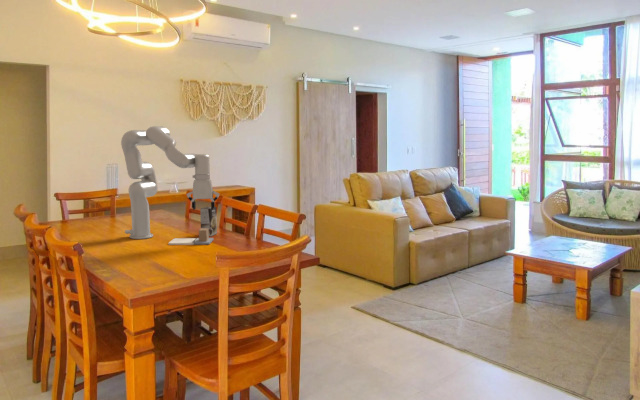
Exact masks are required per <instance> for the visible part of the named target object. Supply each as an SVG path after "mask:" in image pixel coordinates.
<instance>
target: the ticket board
mask: <svg viewBox="0 0 640 400" xmlns="http://www.w3.org/2000/svg"><path fill="white" fill-rule="evenodd" d="M198 238H199V237H181V238H180V237H179V238H178V237H175V238H173V239H172V240H170V241H169V242H168V246H173V245H175V246H176V245H177V246H179V245H180V246H183V245H184V246H188V245H189V246H193V245H195V244H194V242H195V241H196V240H197V239H198Z"/></svg>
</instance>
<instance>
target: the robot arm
mask: <svg viewBox="0 0 640 400" xmlns="http://www.w3.org/2000/svg"><path fill="white" fill-rule="evenodd" d="M120 145H121V149H122V152H123V154H124V155H123V156H124V160H125V166H126V170H127V174H128V177H129V179H132V180H138V181H134V182H133V183H130V185H129V187H128V195H129V200H130V211H131V228H132V229H124V233H125V234H126V235H129V234H130V235H129V238H130V239H134V240H144V239H150V238H153V237H154V234H153V233H151V223H150V219H151V218H150V217H151V216H150V204H149V201H148V199H147V198H150V197H154V196H155V195H156V194H157V192H158V182H157V178H156V172H155V169H154V166H153V165H152V164H151V162H148V161H143V160H142V155H141V152H140V150H139V149H138V147H137V146H152V145H155V146H156V147H157V148H159V149H160V150H162V151H163V152H164V154H165V156H166V158H167V159H168V160H169V161H170V162H171V163H172V164H174V165H175V166H176V167H178V168H181V169H191V168H194V174H192V179H194V180H193V184H192V190H191V191H190V192H188V193H186V196H187V198H188V200H189V201H190V202H191V208H192V210H196V209H197V208H196V207H197V206H196V200H210V201H211V202H210V204H211V205H210V207H211V209H212V210H213V209H214V208H215V207H216V206H215V205H216V204H215V203H216V201H217V200H218V198H219V196H220V193H219V192H217V191H215V190H214V189H213V182H212V180H211V177H210V175H211V174H210V155H208V154H207V153H206V154H205V153H203V154H202V153H200V154H198V153H197V154H196V153H183V152H182V151H180V150H179V149H177V148H176V145H177V142H176V139H174V138H173V137H171V132H170V130H169V129H168V128H167V127H166V126H158V125H157V126H156V125H155V126H154V125H153V126H150V127H148V128H147V129H146V130H144V129H143V130H141V129H133V130H129V131H126V132H125V133H124V134H123V135H122V137H121V141H120ZM139 180H140V181H139ZM191 195H192V196H191ZM214 195H215V197H213V196H214Z"/></svg>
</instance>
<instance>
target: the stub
mask: <svg viewBox="0 0 640 400" xmlns="http://www.w3.org/2000/svg"><path fill="white" fill-rule="evenodd" d="M197 238H198V239H197V240H196V241H195V242H194V245H211V243H212V242H213V241H214V237H209V229H208V228H201V227H200V228H199V229H198V237H197Z"/></svg>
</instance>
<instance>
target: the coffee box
mask: <svg viewBox="0 0 640 400" xmlns="http://www.w3.org/2000/svg"><path fill="white" fill-rule="evenodd" d="M199 211H200V229H201V228H208V229H209V236H210V237H213V236H215V235H217V234H218V223H217V221H218V220H217V217H218V215H217V207H216V206H215V208H214V209H213V210H212V209H211V206H204V207H202V208H200V210H199Z"/></svg>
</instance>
